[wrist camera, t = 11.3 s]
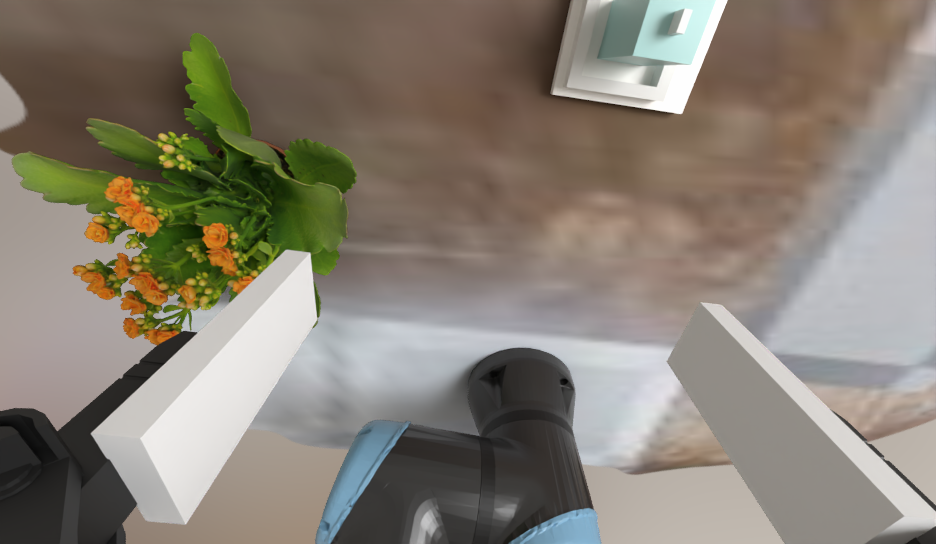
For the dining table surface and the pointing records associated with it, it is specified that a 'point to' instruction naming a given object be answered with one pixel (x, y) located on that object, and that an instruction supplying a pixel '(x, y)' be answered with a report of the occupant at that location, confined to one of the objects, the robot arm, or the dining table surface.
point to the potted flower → (200, 203)
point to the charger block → (654, 31)
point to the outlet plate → (621, 65)
